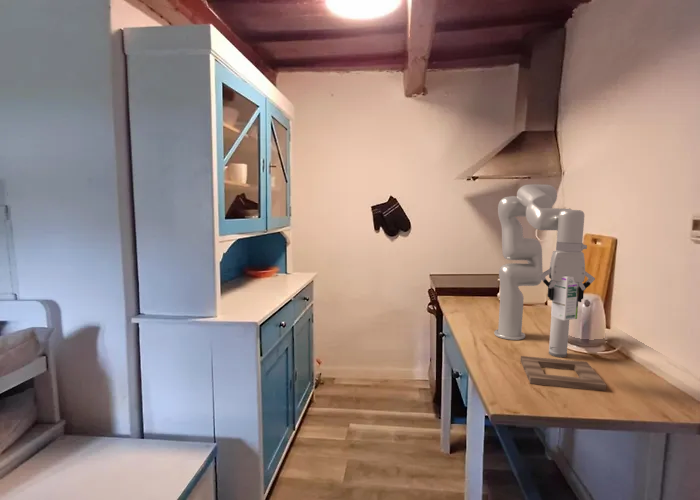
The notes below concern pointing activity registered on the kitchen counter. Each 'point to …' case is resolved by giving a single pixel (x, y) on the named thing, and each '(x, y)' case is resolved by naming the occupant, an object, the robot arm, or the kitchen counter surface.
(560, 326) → the travel mug
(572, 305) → the syrup box
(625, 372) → the kitchen counter surface
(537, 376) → the hole board
